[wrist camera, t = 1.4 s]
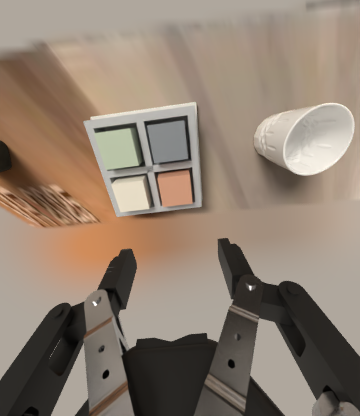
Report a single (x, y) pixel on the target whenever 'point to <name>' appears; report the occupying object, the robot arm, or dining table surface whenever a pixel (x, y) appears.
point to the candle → (4, 158)
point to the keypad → (148, 167)
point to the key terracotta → (175, 187)
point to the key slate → (168, 141)
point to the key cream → (132, 193)
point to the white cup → (306, 137)
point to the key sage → (119, 148)
